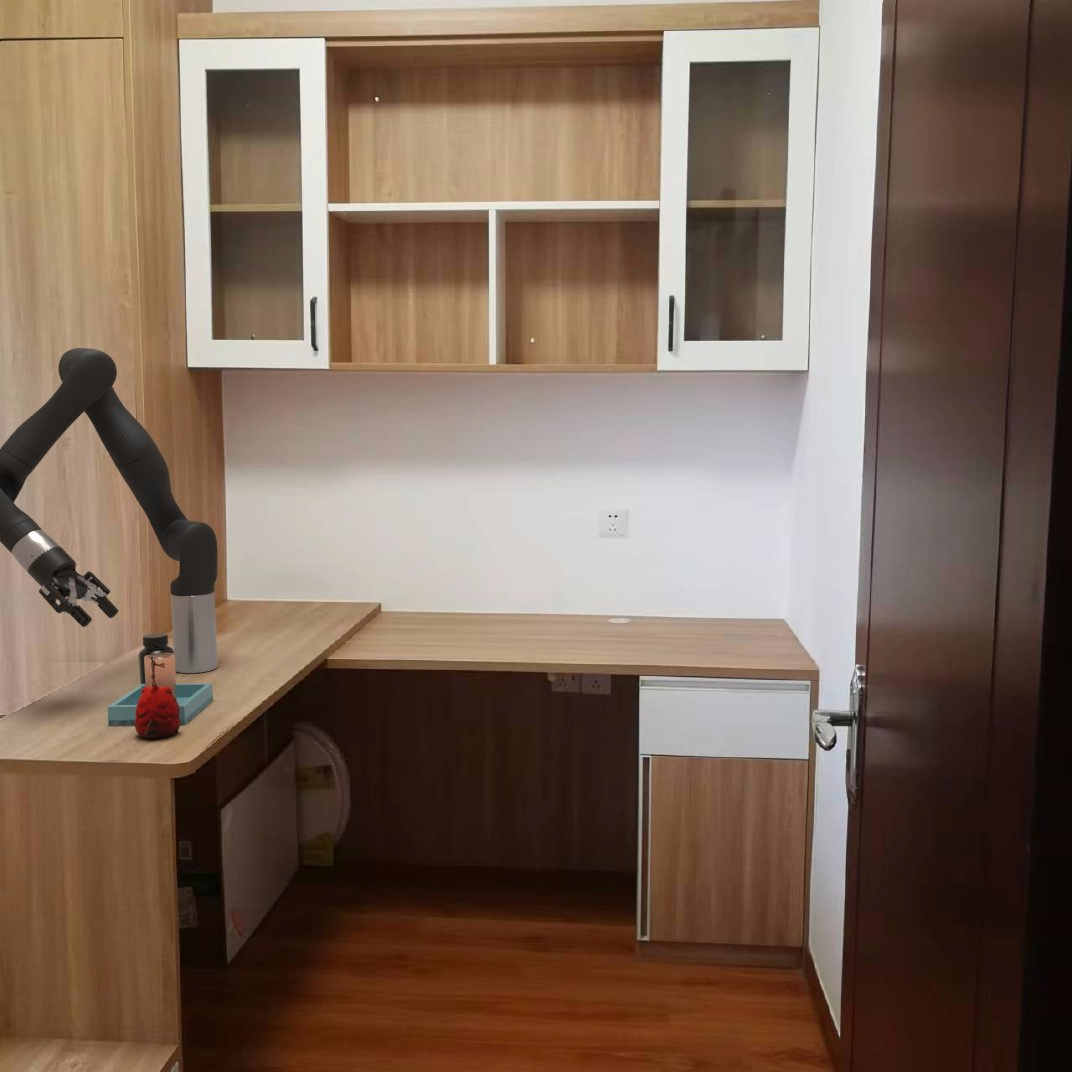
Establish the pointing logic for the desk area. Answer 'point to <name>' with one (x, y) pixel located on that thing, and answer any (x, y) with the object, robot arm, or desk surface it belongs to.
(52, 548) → the robot arm
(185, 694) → the teal tray
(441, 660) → the desk surface
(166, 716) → the red clay folk toy
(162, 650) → the supplement bottle
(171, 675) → the terracotta cup
